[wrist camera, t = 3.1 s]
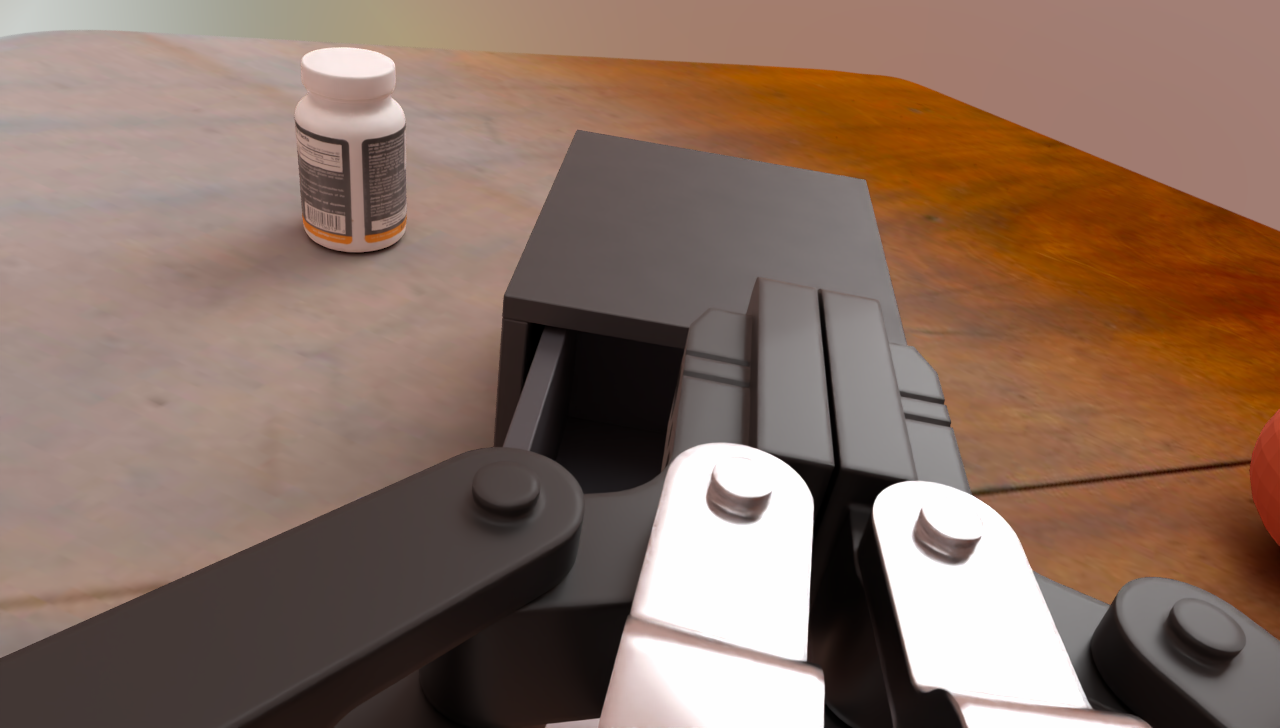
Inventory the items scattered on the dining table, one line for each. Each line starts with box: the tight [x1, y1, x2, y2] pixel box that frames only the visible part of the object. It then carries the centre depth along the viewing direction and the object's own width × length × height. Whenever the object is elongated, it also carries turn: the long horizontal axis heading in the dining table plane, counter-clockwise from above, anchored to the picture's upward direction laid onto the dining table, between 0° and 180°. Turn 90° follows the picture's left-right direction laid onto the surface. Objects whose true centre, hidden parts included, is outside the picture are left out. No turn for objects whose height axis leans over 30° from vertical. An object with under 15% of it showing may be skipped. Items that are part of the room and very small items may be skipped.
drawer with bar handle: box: [503, 325, 812, 728], centre depth 31 cm, size 19×13×8 cm, turn 174°
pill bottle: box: [294, 47, 407, 252], centre depth 51 cm, size 6×6×10 cm
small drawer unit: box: [493, 130, 907, 447], centre depth 41 cm, size 16×14×10 cm
